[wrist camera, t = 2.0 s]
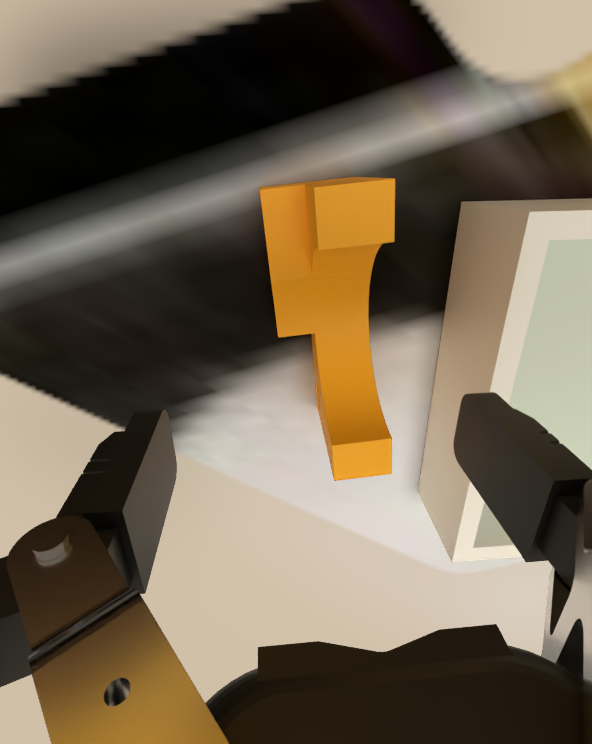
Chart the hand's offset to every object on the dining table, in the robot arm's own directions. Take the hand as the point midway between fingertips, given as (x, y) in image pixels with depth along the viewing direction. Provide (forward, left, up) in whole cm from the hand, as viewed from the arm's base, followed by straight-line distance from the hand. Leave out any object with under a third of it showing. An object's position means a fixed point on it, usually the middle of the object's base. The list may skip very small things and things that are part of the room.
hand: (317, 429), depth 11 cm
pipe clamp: (-1, 0, -11) cm, 11 cm away
